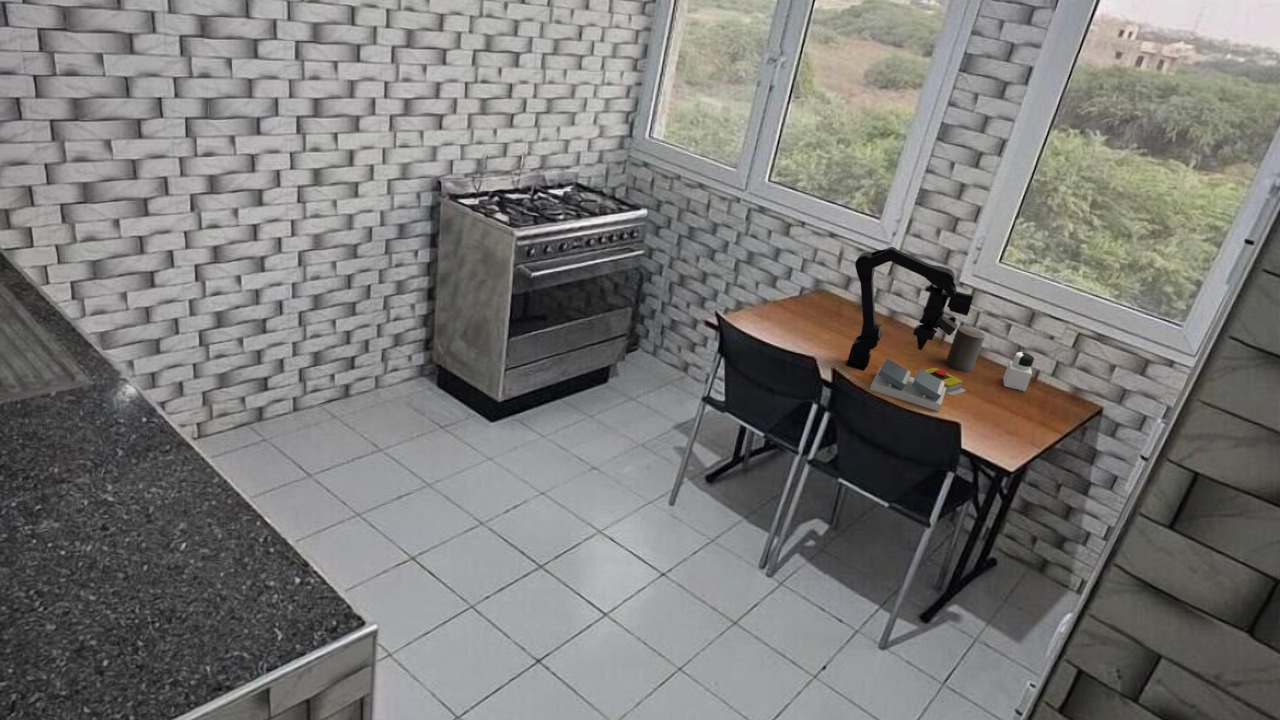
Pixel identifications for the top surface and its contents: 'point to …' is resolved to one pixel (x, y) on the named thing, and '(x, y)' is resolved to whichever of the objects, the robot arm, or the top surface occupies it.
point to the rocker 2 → (928, 384)
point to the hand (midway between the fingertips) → (920, 349)
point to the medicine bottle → (1019, 371)
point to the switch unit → (906, 393)
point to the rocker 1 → (894, 374)
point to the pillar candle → (965, 348)
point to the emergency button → (947, 381)
